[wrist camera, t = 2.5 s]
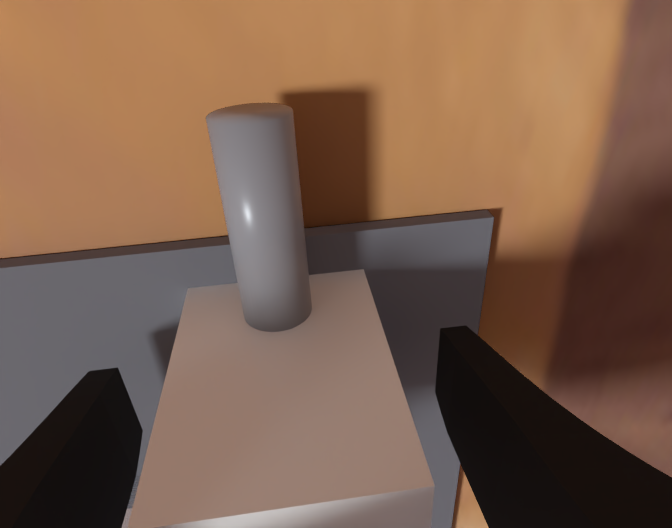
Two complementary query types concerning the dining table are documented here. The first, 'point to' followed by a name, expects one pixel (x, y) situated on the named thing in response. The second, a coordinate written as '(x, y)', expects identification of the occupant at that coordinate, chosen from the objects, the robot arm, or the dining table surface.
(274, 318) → the cable plug
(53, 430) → the robot arm
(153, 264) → the mat
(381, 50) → the dining table surface
